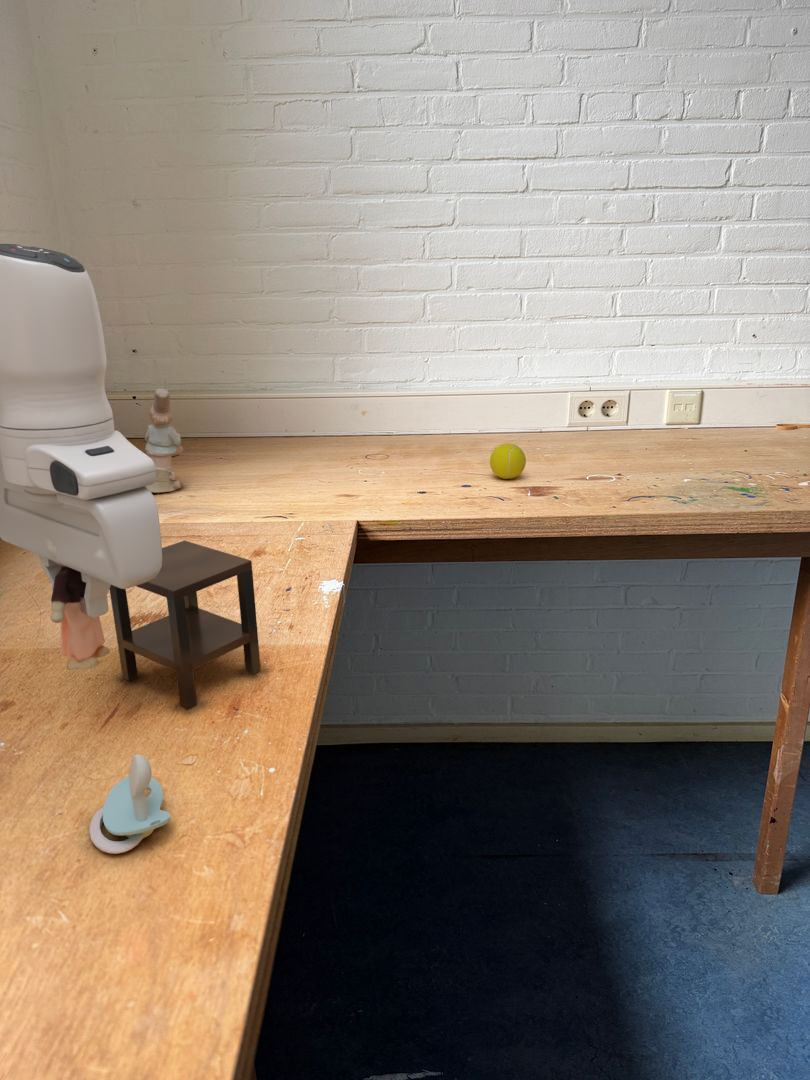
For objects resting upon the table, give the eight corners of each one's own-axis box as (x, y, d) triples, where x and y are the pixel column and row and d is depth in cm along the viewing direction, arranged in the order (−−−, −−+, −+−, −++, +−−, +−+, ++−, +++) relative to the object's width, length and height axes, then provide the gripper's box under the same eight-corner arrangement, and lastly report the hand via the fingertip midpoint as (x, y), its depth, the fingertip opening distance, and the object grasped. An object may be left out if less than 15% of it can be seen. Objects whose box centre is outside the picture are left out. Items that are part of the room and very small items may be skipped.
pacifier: (96, 871, 59) (177, 843, 62) (80, 802, 57) (165, 776, 60) (86, 813, 66) (160, 790, 68) (71, 749, 63) (149, 727, 66)
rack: (122, 678, 86) (105, 566, 82) (196, 644, 94) (184, 540, 90) (187, 710, 80) (173, 591, 76) (261, 670, 88) (251, 560, 83)
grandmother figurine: (78, 644, 75) (55, 515, 71) (119, 641, 75) (99, 513, 71) (48, 683, 68) (20, 541, 64) (93, 680, 68) (69, 539, 64)
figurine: (178, 494, 154) (167, 390, 147) (135, 495, 154) (121, 391, 147) (190, 482, 162) (179, 383, 155) (148, 483, 162) (136, 383, 155)
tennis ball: (482, 478, 162) (483, 444, 160) (505, 471, 166) (506, 438, 164) (508, 484, 157) (509, 449, 155) (531, 478, 161) (533, 444, 159)
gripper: (-40, 443, 69) (-13, 590, 74) (96, 482, 58) (117, 653, 62) (30, 431, 74) (50, 570, 79) (168, 466, 62) (183, 626, 67)
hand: (81, 607), depth 70 cm, fingers closed on grandmother figurine, 3 cm apart
